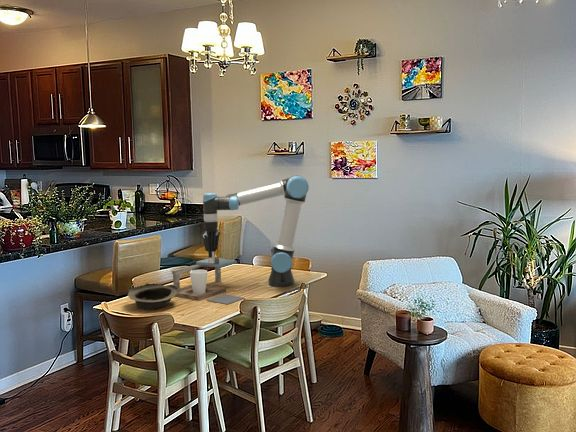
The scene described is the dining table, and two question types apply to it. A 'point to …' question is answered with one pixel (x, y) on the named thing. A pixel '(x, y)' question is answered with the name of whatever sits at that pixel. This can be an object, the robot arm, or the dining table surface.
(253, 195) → the robot arm
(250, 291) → the dining table surface
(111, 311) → the dining table surface
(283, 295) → the dining table surface
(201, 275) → the foam cup
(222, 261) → the cover
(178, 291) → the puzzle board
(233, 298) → the rubber mat
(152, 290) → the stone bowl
